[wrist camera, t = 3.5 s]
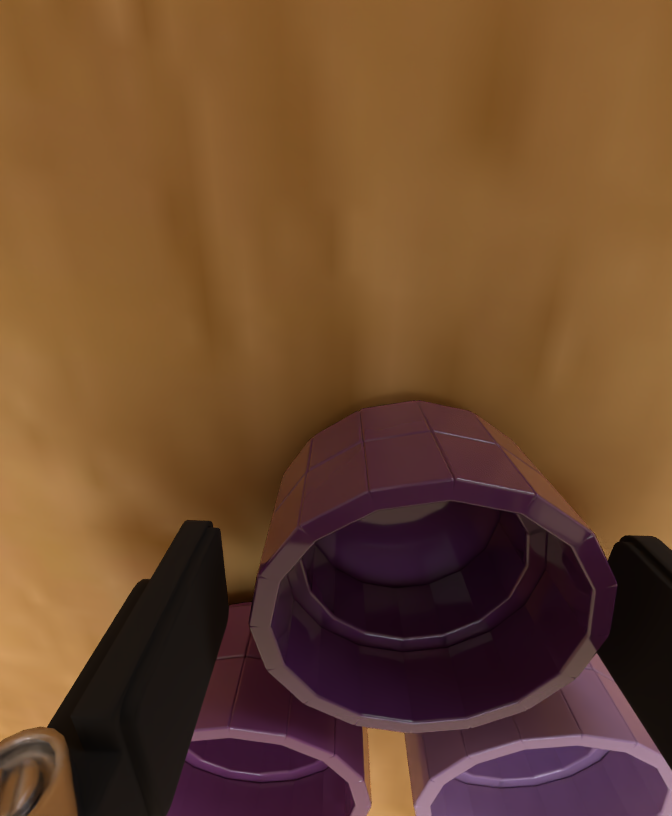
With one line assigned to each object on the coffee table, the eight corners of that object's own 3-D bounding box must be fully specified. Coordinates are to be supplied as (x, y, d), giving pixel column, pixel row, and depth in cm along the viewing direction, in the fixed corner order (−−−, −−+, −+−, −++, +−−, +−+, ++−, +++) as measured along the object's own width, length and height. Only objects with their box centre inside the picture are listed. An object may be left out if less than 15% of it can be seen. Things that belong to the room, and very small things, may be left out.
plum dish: (141, 603, 12) (62, 742, 9) (345, 579, 12) (346, 717, 8) (205, 723, 15) (165, 865, 12) (374, 707, 15) (384, 852, 11)
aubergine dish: (252, 417, 10) (202, 513, 6) (526, 373, 9) (641, 451, 6) (307, 603, 12) (294, 744, 9) (522, 579, 12) (597, 719, 8)
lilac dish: (385, 608, 12) (402, 750, 9) (602, 583, 12) (712, 725, 8) (407, 727, 15) (426, 872, 12) (585, 712, 14) (662, 859, 11)
